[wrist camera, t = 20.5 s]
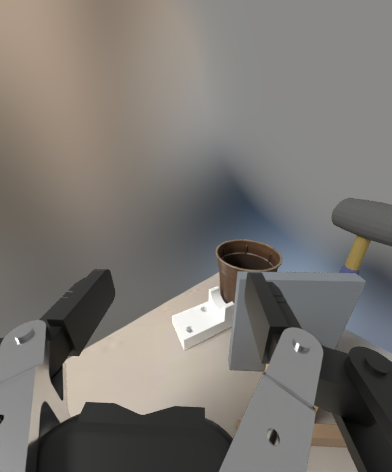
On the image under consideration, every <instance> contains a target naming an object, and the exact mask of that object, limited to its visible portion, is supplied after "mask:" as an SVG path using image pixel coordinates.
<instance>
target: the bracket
mask: <svg viewBox="0 0 392 472" xmlns="http://www.w3.org/2000/svg"><path fill="white" fill-rule="evenodd" d="M233 311H234V303H233V302H230V303H227V304H226V303H225V302H224V301H223V299H222V297H221V294H220V288H219V287H218V286H216V287H214V288H211V289H209V301H208V302H205V303H203V304H201V305H198V306H196V307H193V308H191V309H188V310H186V311H183V312H181V313H178V314H176V315H173V316H172V323H173V326H174V328H175V330H176V332H177V334H178V338H179V340H180V342H181V344H182V346H183V349H184V350H186V349H188V348H190V347H192V346H194V345H196V344H198V343H200V342H202V341H204V340H206V339H208V338H210V337H212V336H214V335H216V334H218V333H220V332H222V331H224V330H226V329H228V328H230V327H232V321H233Z"/></svg>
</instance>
